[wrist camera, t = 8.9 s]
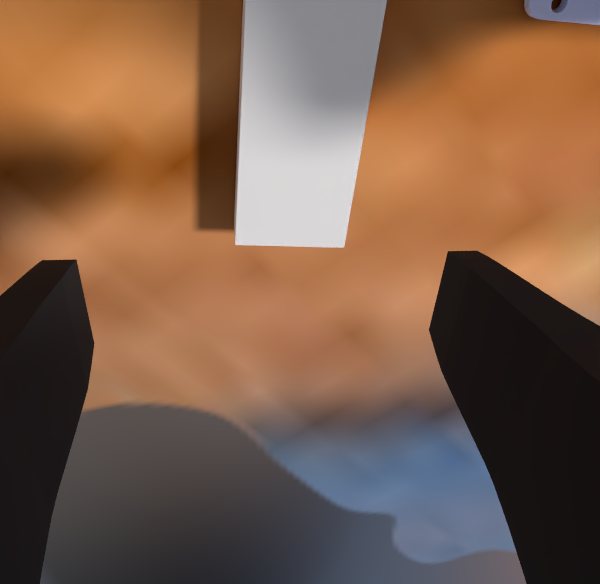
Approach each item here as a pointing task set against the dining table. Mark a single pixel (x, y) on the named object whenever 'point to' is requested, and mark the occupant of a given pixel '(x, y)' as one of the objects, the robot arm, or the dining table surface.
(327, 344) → the dining table surface
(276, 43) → the white flat plank
